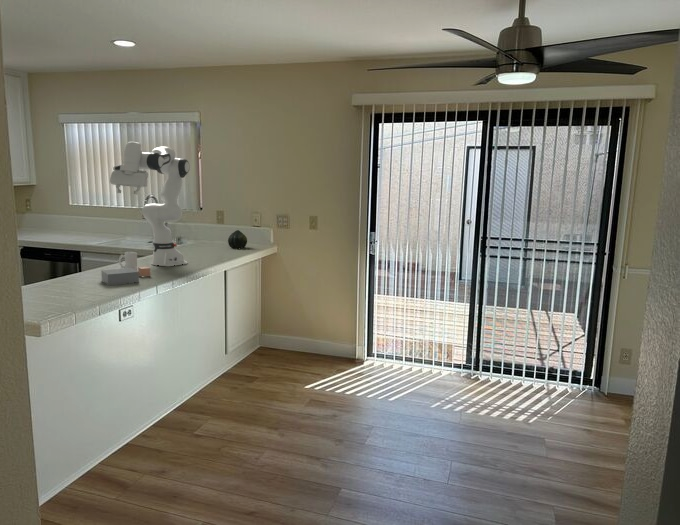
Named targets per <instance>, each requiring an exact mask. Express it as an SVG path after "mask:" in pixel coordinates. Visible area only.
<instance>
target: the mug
mask: <svg viewBox="0 0 680 525" xmlns="http://www.w3.org/2000/svg"><path fill="white" fill-rule="evenodd" d="M137 252H138V251H137ZM137 252H136V251H125V252H124V254H120V256H119V259H118V264H119V266H120V269H124V268H133V269H135V270H136V271H138V253H137ZM122 258H124V265H123V264H122Z"/></svg>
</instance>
